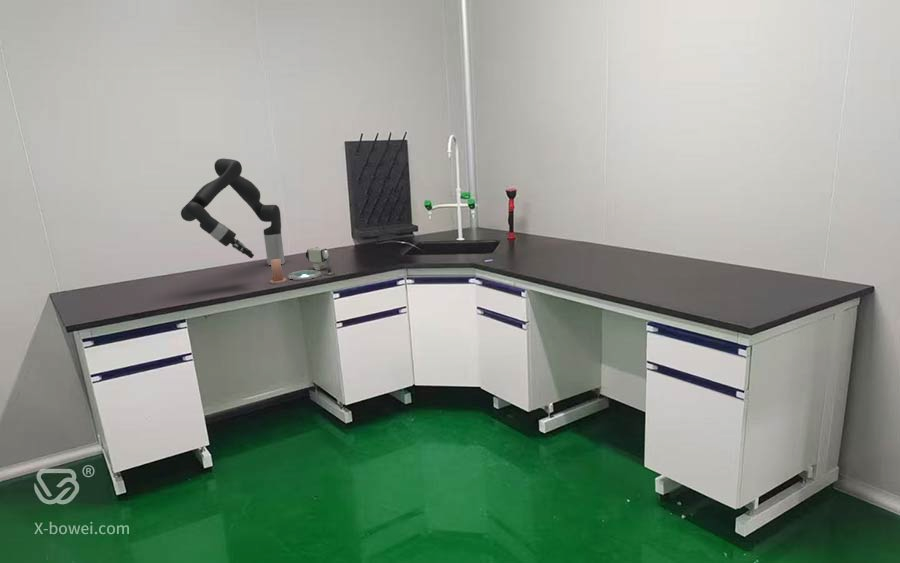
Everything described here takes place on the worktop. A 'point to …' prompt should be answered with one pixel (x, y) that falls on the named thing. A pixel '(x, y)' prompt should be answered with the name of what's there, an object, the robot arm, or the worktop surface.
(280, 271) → the cast cover
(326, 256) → the dial post
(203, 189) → the robot arm
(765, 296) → the worktop surface
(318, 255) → the pneumatic valve
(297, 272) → the disc
